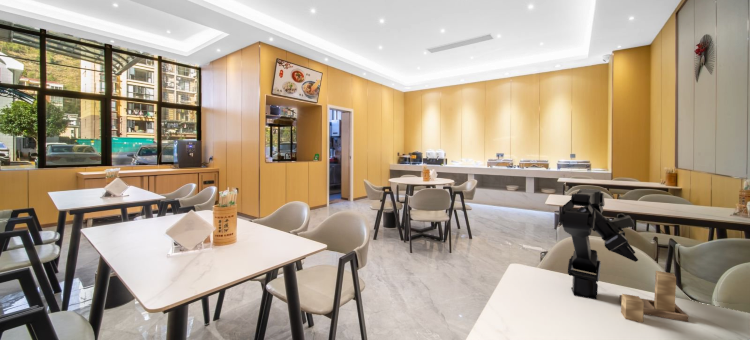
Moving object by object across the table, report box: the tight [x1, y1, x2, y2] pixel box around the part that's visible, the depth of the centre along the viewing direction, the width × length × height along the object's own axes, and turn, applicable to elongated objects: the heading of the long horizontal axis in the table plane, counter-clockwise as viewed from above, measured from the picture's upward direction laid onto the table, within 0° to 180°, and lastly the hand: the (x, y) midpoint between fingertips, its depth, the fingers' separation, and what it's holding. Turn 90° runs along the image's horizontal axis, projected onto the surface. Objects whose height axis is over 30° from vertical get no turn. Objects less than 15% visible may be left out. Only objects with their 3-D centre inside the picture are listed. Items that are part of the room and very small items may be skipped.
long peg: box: [653, 270, 677, 313], centre depth 91 cm, size 4×4×12 cm
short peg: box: [620, 293, 644, 323], centre depth 89 cm, size 4×4×6 cm
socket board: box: [619, 294, 689, 322], centre depth 93 cm, size 14×8×2 cm, turn 64°
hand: (635, 257), depth 102 cm, fingers open, 9 cm apart
